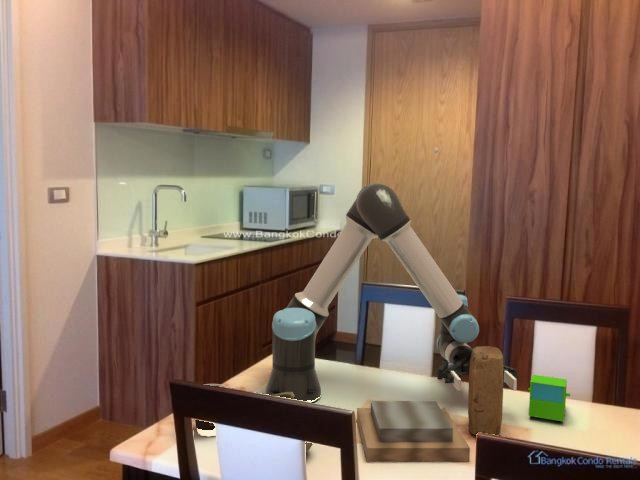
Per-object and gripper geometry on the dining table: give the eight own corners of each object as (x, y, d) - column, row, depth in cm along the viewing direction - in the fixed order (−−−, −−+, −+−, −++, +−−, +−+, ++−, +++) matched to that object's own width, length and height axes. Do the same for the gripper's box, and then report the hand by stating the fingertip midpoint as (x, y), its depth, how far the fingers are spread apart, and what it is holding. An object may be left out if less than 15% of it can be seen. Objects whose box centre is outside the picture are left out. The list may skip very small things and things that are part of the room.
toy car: (570, 408, 157) (572, 371, 156) (567, 427, 145) (570, 387, 144) (529, 401, 161) (531, 366, 160) (524, 419, 149) (526, 381, 148)
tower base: (366, 461, 125) (367, 434, 125) (356, 419, 147) (357, 396, 147) (469, 461, 126) (470, 434, 126) (444, 419, 148) (445, 396, 147)
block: (502, 440, 136) (506, 356, 134) (468, 437, 138) (472, 354, 136) (496, 422, 147) (500, 343, 145) (465, 419, 148) (469, 341, 146)
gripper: (506, 371, 164) (537, 400, 143) (416, 371, 163) (435, 400, 141) (507, 345, 163) (539, 369, 142) (417, 344, 162) (436, 369, 141)
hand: (487, 385), depth 142 cm, fingers open, 13 cm apart
